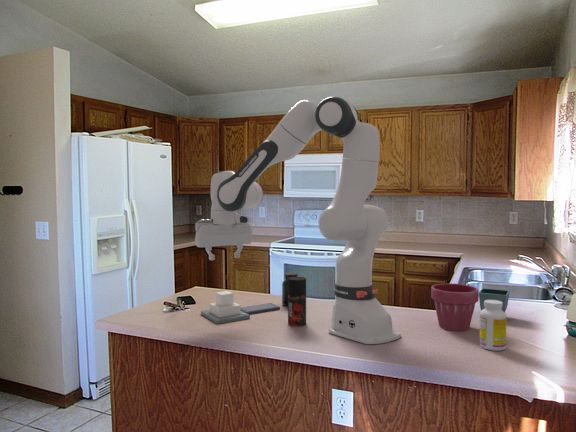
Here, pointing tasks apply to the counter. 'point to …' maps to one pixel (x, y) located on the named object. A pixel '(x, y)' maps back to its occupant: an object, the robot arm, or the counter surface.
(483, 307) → the flower pot
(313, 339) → the counter surface
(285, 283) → the supplement bottle
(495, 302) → the supplement bottle
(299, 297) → the deodorant
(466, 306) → the plant pot
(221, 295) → the block
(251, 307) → the phone
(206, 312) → the dock
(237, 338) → the counter surface
